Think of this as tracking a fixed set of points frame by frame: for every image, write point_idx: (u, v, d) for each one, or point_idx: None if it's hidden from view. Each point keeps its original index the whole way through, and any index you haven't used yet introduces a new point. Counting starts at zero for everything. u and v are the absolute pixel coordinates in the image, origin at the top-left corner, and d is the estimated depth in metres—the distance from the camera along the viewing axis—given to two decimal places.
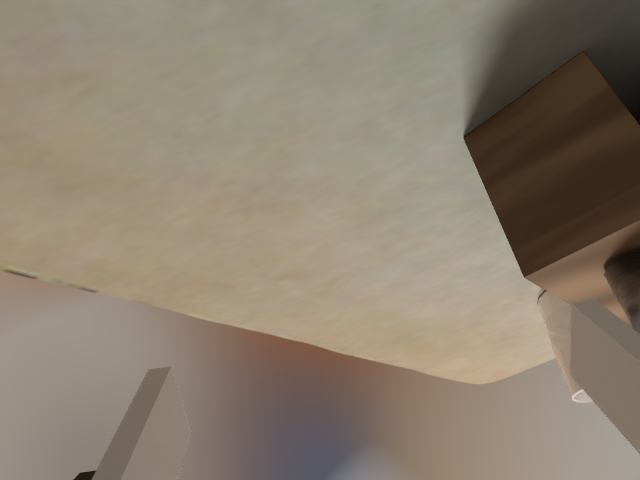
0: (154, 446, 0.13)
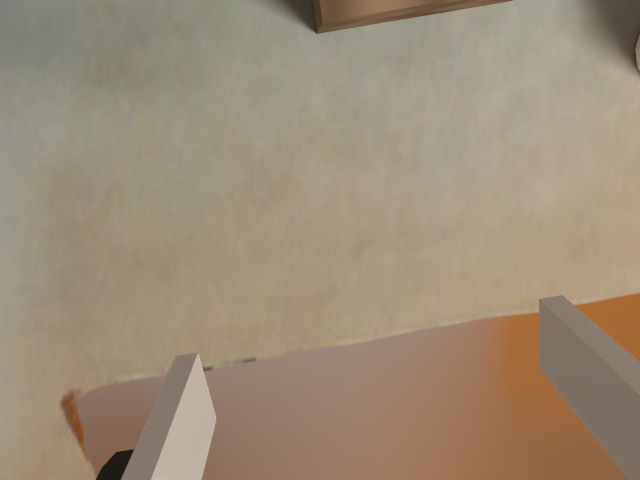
0: (186, 427, 0.14)
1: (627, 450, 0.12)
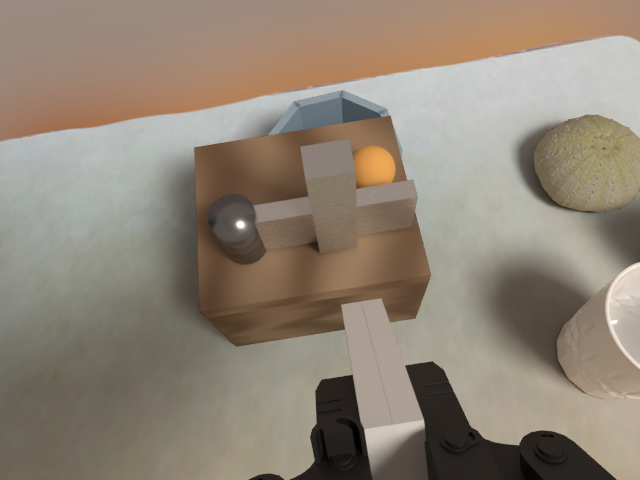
0: None
1: None
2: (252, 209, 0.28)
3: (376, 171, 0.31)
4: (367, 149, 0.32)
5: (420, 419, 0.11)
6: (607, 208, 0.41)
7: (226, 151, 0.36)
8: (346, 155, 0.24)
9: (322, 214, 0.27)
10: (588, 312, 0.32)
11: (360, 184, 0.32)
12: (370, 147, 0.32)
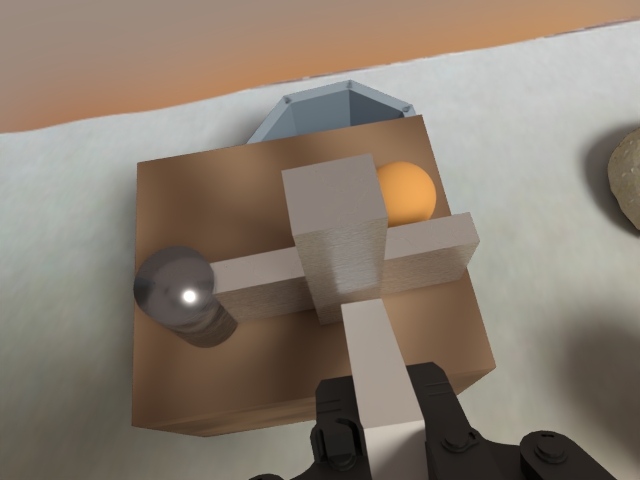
0: None
1: None
2: (207, 272, 0.17)
3: (409, 203, 0.20)
4: (393, 168, 0.20)
5: (420, 419, 0.11)
6: None
7: (182, 168, 0.25)
8: (368, 185, 0.13)
9: (325, 281, 0.16)
10: None
11: None
12: (398, 165, 0.20)
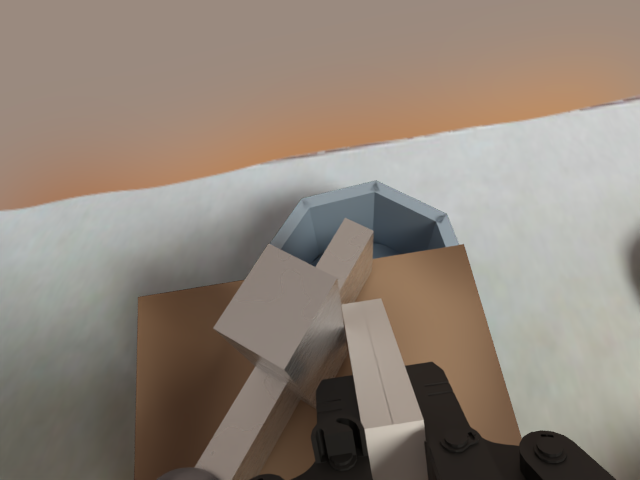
0: None
1: None
2: (204, 476, 0.14)
3: None
4: None
5: (420, 419, 0.11)
6: None
7: (190, 305, 0.22)
8: (295, 269, 0.12)
9: (312, 374, 0.15)
10: None
11: None
12: None
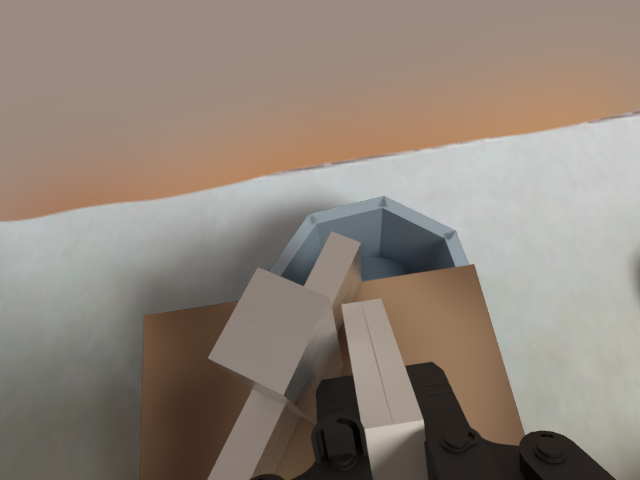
0: None
1: None
2: None
3: None
4: None
5: (420, 419, 0.11)
6: None
7: (196, 325, 0.21)
8: (286, 291, 0.12)
9: (311, 393, 0.14)
10: None
11: None
12: None
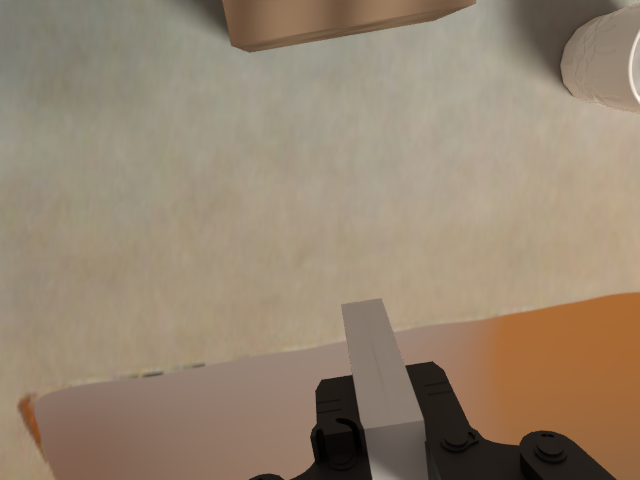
0: None
1: None
2: None
3: None
4: None
5: (420, 419, 0.11)
6: None
7: None
8: None
9: None
10: (612, 36, 0.33)
11: None
12: None
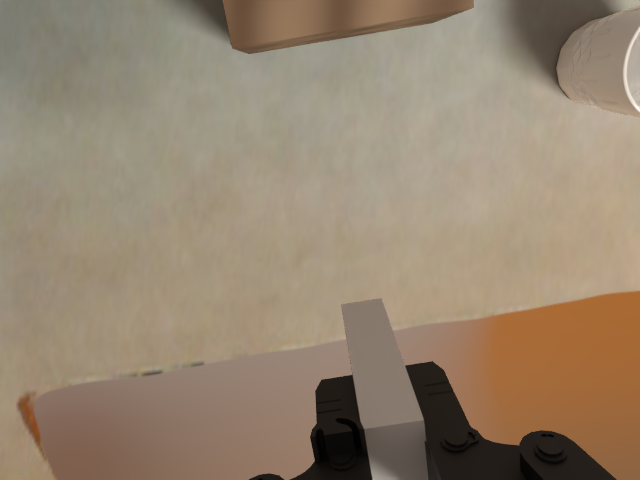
0: None
1: None
2: None
3: None
4: None
5: (420, 419, 0.11)
6: None
7: None
8: None
9: None
10: (607, 40, 0.33)
11: None
12: None
